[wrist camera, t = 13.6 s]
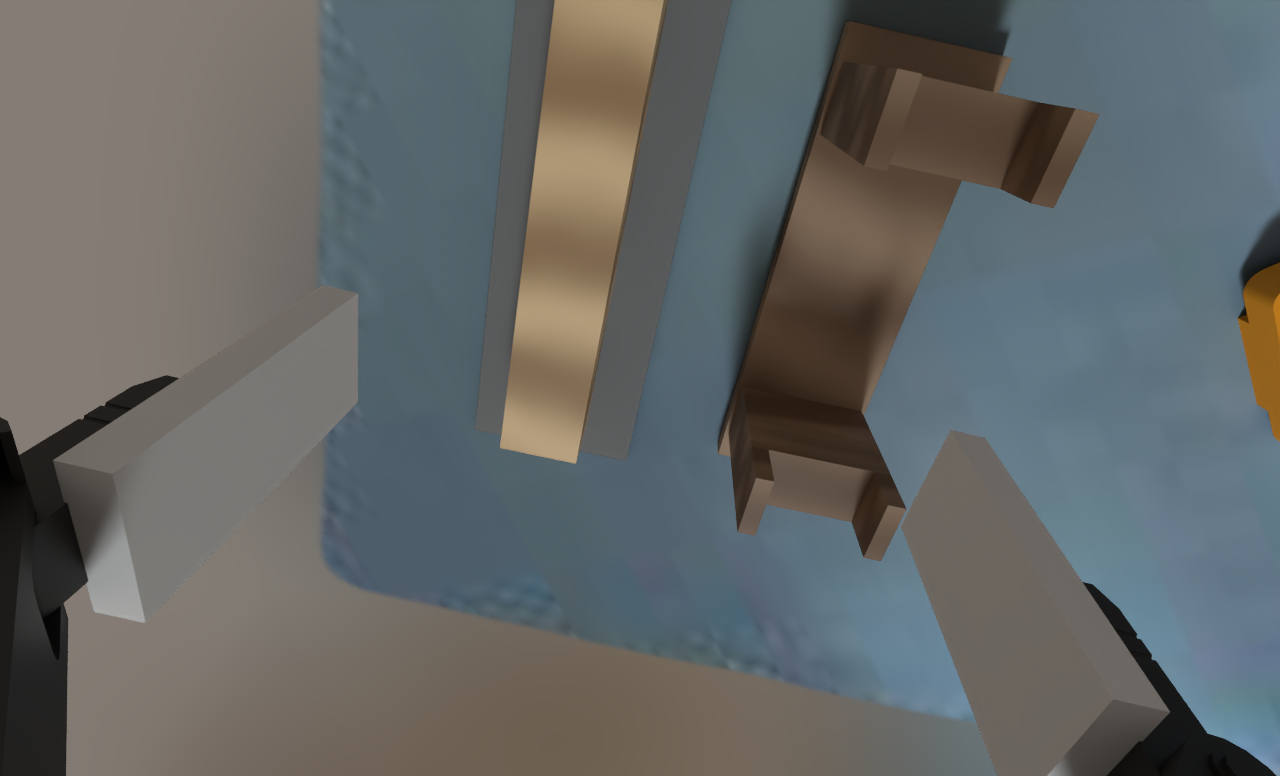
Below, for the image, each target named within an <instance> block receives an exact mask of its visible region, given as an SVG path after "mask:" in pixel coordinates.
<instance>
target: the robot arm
mask: <svg viewBox="0 0 1280 776" xmlns="http://www.w3.org/2000/svg"><path fill="white" fill-rule="evenodd" d="M357 402H358V293H355V292H350V291H346V290H342V289H337V288H333V287H329V286H324V285H322V286H321V287H319V288H318V289H316V290H315V291H313V292H312V293H310V294H308V295H307V296H305V297H304V298H303V299H301V300H299V301H298V302H296V303H295V304H293V305H291V306H290V307H288V308H287V309H285V310H284V311H282V312H281V313H279V314H278V315H276V316H275V317H273V318H271V319H270V320H268V321H267V322H265V323H264V324H262V325H261V326H259V327H258V328H256V329H254V330H253V331H251V332H250V333H248V334H247V335H245V336H244V337H242V338H241V339H239V340H238V341H236V342H234V343H233V344H231V345H230V346H228V347H227V348H225V349H224V350H222V351H221V352H219V353H218V354H216V355H215V356H213V357H211V358H210V359H208V360H207V361H205V362H204V363H202V364H201V365H199V366H197V367H196V368H194V369H193V370H191V371H190V372H188V373H187V374H185V375H184V376H182V377H181V378H175V377H171V376H167V375H166V376H163V377H160V378H157V379H153V380H151V381H148V382H144V383H141V384H138V385H135V386H132V387H130V388H129V389H127V390H126V391H124V392H122V393H121V394H119V395H117V396H116V397H114V398H112V399H111V400H109V401H107V402H106V405H105V406H99V407H98V408H96V409H94V410H93V411H91V412H89V413H88V414H86V415H84V419H83V420H81V419H78V420H76V421H75V422H73V423H72V424H70V425H68V426H66V427H65V428H63V429H62V430H60V431H58V432H57V433H55V434H53V435H52V436H50V437H48V438H47V439H45V440H43V441H42V442H40V443H39V444H37V445H35V446H34V447H32V448H31V449H29V450H27V451H25V452H24V453H22V454H20V455H18V451H17V448H16V445H15V441H14V438H13V434H12V431H11V429H10V426H9V424H8V421H6V420H4V419H2V418H1V417H0V776H66V734H67V663H68V655H67V654H68V617H67V613H66V610H65V607H64V604H63V603H64V602H65V601H66V600H67V599H68V598H70V597H71V596H72V595H73V594H74V593H75V592H77V591H78V590H79V589H80V588H81V587H82V586H83V585H85V583H86V584H87V588H88V591H89V595H90V599H91V602H92V606H93V610H94V612H98V613H102V614H106V615H111V616H115V617H120V618H124V619H129V620H133V621H138V622H142V623H146V622H147V621H148V620H149V619H150V618H151V617H152V616H153V615H154V614H155V613H156V612H157V611H158V610H159V609H160V608H161V607H162V606H163V605H164V604H165V603H166V602H167V600H169V598H170V597H171V596H172V595H173V594H174V593H175V592H176V591H177V590H178V589H179V588H180V587H181V586H182V585H183V584H184V583H185V582H186V581H187V580H188V579H189V577H191V575H192V574H193V573H194V572H195V571H196V570H197V569H198V568H199V567H200V566H201V565H202V564H203V563H204V562H205V561H206V560H207V559H208V558H209V557H210V556H211V555H212V553H214V551H215V550H216V549H217V548H218V547H219V546H220V545H221V544H222V543H223V542H224V541H225V540H226V539H227V538H228V537H229V536H230V535H231V534H232V533H233V532H234V531H235V530H236V528H238V526H239V525H240V524H241V523H242V522H243V521H244V520H245V519H246V518H247V517H248V516H249V515H250V514H251V513H252V512H253V511H254V510H255V509H256V508H257V507H258V506H259V505H260V504H261V502H262V501H263V500H264V499H265V498H266V497H267V496H268V495H269V494H270V493H271V492H272V491H273V490H274V489H275V488H276V487H277V486H278V484H280V483H281V482H282V481H283V479H284V478H285V477H286V476H287V475H288V474H289V473H290V472H291V471H292V470H293V469H294V468H295V467H296V466H297V465H298V464H299V463H300V462H301V461H302V459H304V458H305V457H306V456H307V454H308V453H309V452H310V451H311V450H312V449H313V448H314V447H315V446H316V445H317V444H318V443H319V442H320V441H321V440H322V439H323V438H324V437H325V436H326V435H327V434H328V433H329V432H330V430H331V429H332V428H333V427H334V426H335V425H336V424H337V423H338V422H339V421H340V420H341V419H342V418H343V417H344V416H345V415H346V414H347V413H348V412H349V411H350V410H351V409H352V408H353V406H354V405H355V404H356V403H357ZM901 527H902V530H903V532H904V535H905V537H906V540H907V543H908V545H909V548H910V550H911V553H912V556H913V558H914V561H915V563H916V566H917V569H918V571H919V574H920V576H921V579H922V582H923V584H924V587H925V589H926V592H927V595H928V597H929V600H930V602H931V605H932V608H933V610H934V613H935V615H936V618H937V621H938V623H939V626H940V628H941V631H942V634H943V636H944V639H945V641H946V644H947V646H948V649H949V652H950V654H951V657H952V659H953V662H954V665H955V667H956V670H957V672H958V675H959V678H960V680H961V683H962V685H963V688H964V691H965V693H966V696H967V698H968V701H969V704H970V706H971V709H972V711H973V714H974V717H975V719H976V722H977V724H978V727H979V730H980V732H981V735H982V737H983V739H984V742H985V745H986V747H987V750H988V753H989V756H990V758H991V761H992V763H993V766H994V768H995V771H996V773H997V776H1276V775H1275V774H1274V773H1273V772H1272V771H1271V770H1270V769H1269V768H1268V767H1267V766H1266V765H1264V764H1263V763H1262V762H1260V761H1259V760H1258V759H1256V758H1255V757H1254V756H1252V755H1251V754H1250V753H1248V752H1247V751H1246V750H1244V749H1242V748H1240V747H1238V746H1236V745H1235V744H1233V743H1231V742H1229V741H1227V740H1226V739H1223V738H1220V737H1217V736H1213V735H1210V734H1207V732H1206V731H1205V729H1204V728H1203V727H1202V725H1201V724H1200V722H1199V721H1198V719H1197V718H1196V717H1195V715H1194V714H1193V712H1192V711H1191V710H1190V708H1189V707H1188V705H1187V704H1186V703H1185V701H1184V700H1183V698H1182V697H1181V695H1180V694H1179V693H1178V691H1177V690H1176V688H1175V687H1174V686H1173V684H1172V683H1171V681H1170V680H1169V679H1168V677H1167V676H1166V674H1165V673H1164V671H1163V670H1162V669H1161V667H1160V666H1159V664H1158V663H1157V662H1156V661H1155V660H1152V659H1151V657H1152V655H1151V653H1150V652H1149V650H1148V649H1147V648H1146V646H1145V645H1144V643H1143V642H1142V640H1141V639H1137V633H1136V632H1135V631H1134V629H1133V628H1132V626H1131V625H1130V624H1129V622H1128V621H1127V619H1126V618H1125V616H1124V615H1123V614H1122V612H1121V611H1120V609H1119V608H1118V607H1117V606H1115V605H1114V604H1113V603H1112V602H1111V601H1110V600H1109V599H1108V598H1107V597H1106V596H1105V595H1103V594H1102V593H1101V592H1100V591H1099V590H1098V589H1097V588H1096V587H1095V586H1094V585H1093V584H1088V583H1084V582H1082V581H1081V579H1080V578H1079V576H1078V575H1077V573H1076V572H1075V570H1074V569H1073V567H1072V566H1071V565H1070V563H1069V562H1068V560H1067V559H1066V557H1065V556H1064V554H1063V553H1062V551H1061V550H1060V548H1059V547H1058V545H1057V544H1056V542H1055V541H1054V539H1053V538H1052V536H1051V535H1050V533H1049V532H1048V531H1047V529H1046V528H1045V526H1044V525H1043V523H1042V522H1041V520H1040V519H1039V517H1038V516H1037V514H1036V513H1035V511H1034V510H1033V508H1032V507H1031V505H1030V504H1029V502H1028V501H1027V499H1026V498H1025V496H1024V495H1023V494H1022V492H1021V491H1020V489H1019V488H1018V486H1017V485H1016V483H1015V482H1014V480H1013V479H1012V477H1011V476H1010V474H1009V473H1008V471H1007V470H1006V468H1005V467H1004V465H1003V464H1002V462H1001V461H1000V460H999V458H998V457H997V455H996V454H995V452H994V451H993V449H992V448H991V446H990V445H989V443H988V442H987V440H986V439H985V438H983V437H979V436H974V435H970V434H966V433H961V432H957V431H953V430H951V431H950V433H949V434H948V436H947V438H946V440H945V442H944V444H943V446H942V448H941V450H940V452H939V454H938V456H937V458H936V460H935V461H934V463H933V465H932V467H931V469H930V471H929V473H928V475H927V477H926V479H925V481H924V483H923V485H922V486H921V488H920V490H919V492H918V494H917V496H916V498H915V500H914V502H913V504H912V506H911V508H910V510H909V512H908V513H907V515H906V517H905V519H904V521H903V523H902V525H901Z"/></svg>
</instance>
